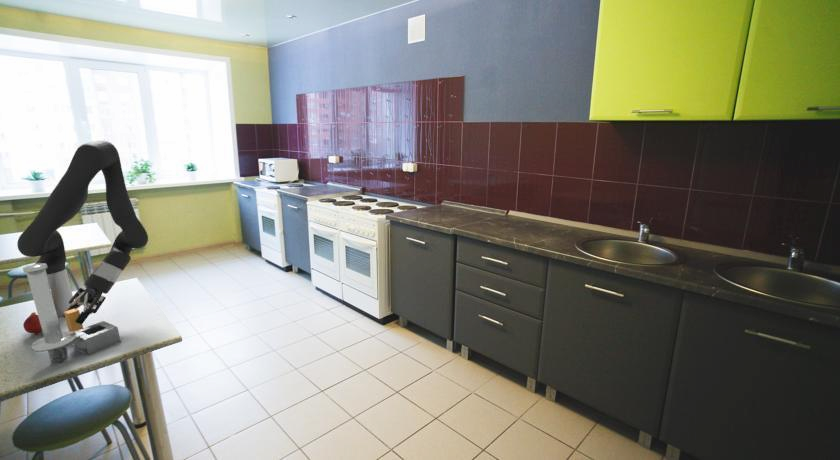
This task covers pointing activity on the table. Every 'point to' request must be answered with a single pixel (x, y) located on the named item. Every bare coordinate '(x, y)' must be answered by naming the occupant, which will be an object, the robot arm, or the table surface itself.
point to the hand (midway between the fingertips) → (72, 320)
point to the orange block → (72, 320)
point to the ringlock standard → (54, 338)
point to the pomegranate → (32, 324)
